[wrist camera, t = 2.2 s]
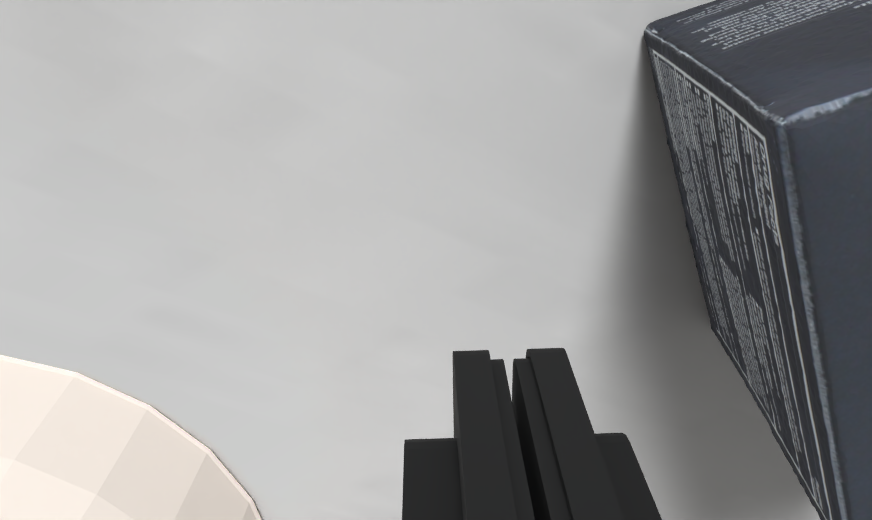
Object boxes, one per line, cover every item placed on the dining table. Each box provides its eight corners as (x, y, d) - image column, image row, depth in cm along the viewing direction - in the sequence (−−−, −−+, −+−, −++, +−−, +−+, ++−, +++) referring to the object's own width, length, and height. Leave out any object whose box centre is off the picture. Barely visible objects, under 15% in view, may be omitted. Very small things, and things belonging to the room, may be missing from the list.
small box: (918, 280, 24) (1204, 534, 14) (709, 333, 25) (844, 598, 15) (883, -63, 19) (1255, -25, 10) (635, 23, 21) (758, 127, 11)
